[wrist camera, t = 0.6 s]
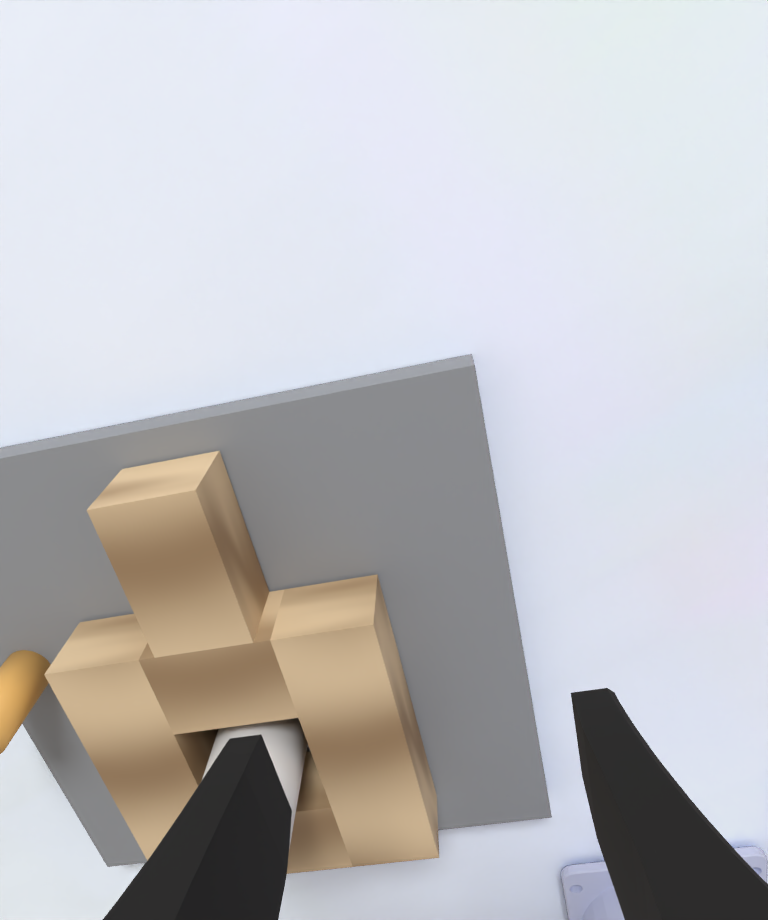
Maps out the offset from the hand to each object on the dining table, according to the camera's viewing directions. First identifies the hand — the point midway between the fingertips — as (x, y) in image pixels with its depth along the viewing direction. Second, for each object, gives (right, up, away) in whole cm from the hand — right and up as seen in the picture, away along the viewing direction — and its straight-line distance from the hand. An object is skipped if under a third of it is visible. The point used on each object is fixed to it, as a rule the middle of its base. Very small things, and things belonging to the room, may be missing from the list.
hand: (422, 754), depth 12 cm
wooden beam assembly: (-5, -1, +11) cm, 12 cm away
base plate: (-5, -1, +12) cm, 13 cm away
